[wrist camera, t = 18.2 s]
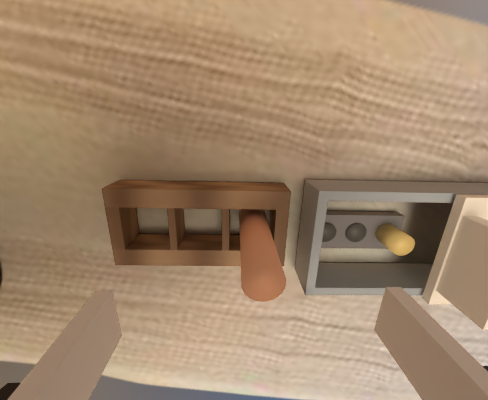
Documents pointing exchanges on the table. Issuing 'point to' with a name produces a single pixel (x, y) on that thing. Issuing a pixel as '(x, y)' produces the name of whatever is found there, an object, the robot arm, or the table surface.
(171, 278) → the table surface
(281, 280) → the pin
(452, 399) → the robot arm
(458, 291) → the lid
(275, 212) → the wooden compartment rack
